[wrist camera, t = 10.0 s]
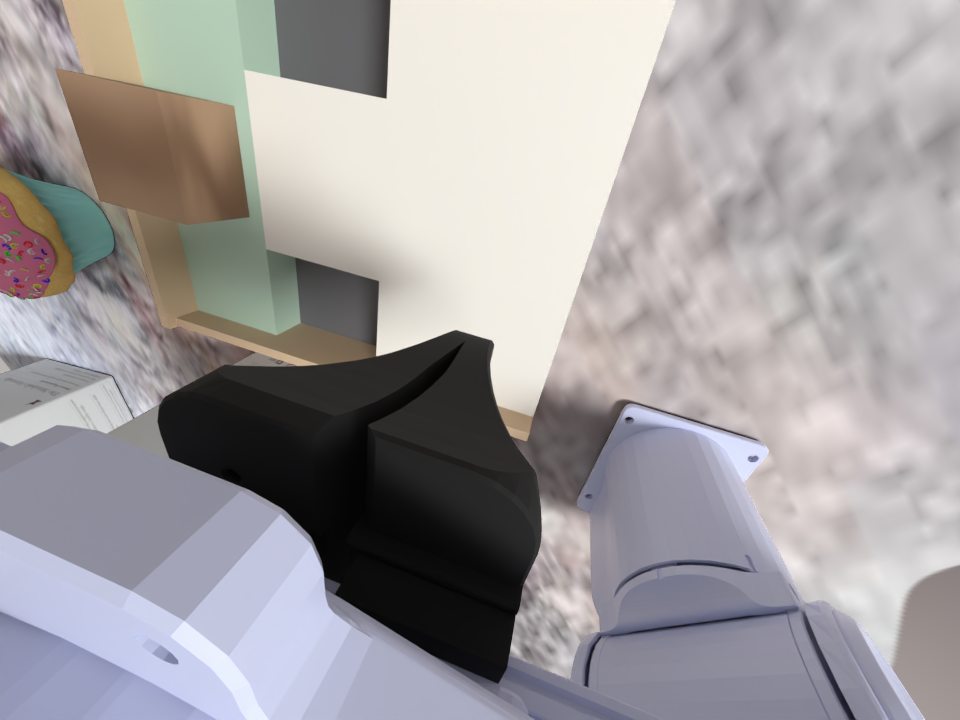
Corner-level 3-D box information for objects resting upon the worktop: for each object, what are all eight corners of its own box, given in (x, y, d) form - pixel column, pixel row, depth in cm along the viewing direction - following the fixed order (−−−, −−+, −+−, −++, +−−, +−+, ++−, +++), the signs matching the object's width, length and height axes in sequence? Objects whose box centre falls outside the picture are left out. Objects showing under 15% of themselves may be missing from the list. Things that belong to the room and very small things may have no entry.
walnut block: (249, 217, 19) (186, 225, 16) (173, 196, 20) (99, 200, 17) (234, 106, 16) (156, 90, 14) (147, 86, 17) (54, 68, 14)
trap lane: (535, 401, 23) (525, 447, 19) (225, 304, 26) (162, 326, 22) (686, -45, 12) (731, -144, 9) (143, -115, 16) (-2, -209, 12)
